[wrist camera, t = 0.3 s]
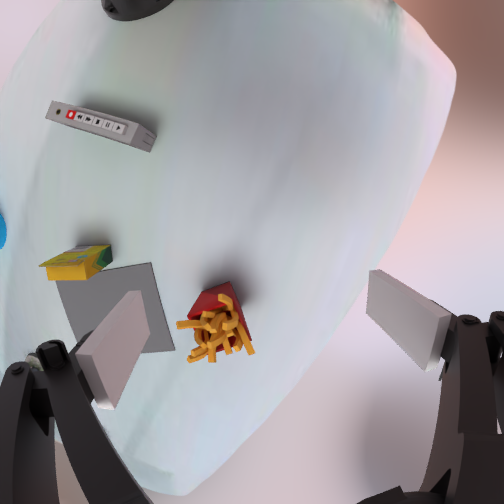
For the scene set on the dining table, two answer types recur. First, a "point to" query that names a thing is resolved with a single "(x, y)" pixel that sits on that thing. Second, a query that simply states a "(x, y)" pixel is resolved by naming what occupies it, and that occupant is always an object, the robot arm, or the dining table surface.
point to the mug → (2, 232)
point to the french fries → (217, 324)
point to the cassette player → (102, 125)
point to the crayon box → (78, 263)
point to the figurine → (34, 362)
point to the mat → (115, 302)
